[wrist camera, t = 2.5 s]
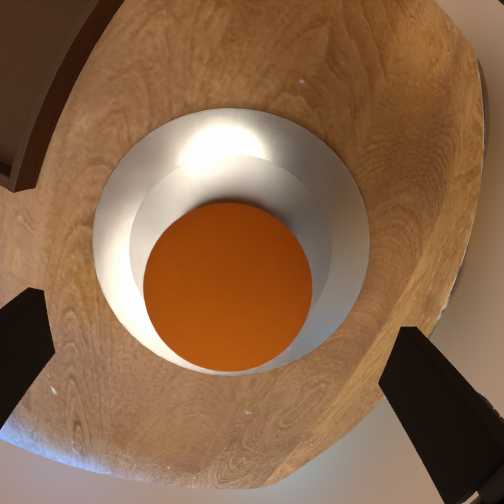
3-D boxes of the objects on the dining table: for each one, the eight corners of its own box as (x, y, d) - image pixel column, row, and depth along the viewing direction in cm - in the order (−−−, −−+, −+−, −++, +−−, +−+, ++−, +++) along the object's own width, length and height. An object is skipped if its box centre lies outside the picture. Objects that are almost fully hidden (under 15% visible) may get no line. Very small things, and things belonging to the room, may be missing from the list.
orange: (305, 202, 18) (356, 237, 10) (283, 323, 20) (307, 411, 12) (168, 186, 17) (116, 210, 9) (162, 311, 19) (127, 394, 12)
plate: (386, 138, 17) (392, 138, 17) (331, 374, 23) (334, 381, 22) (106, 104, 16) (100, 102, 15) (105, 351, 21) (101, 357, 20)
